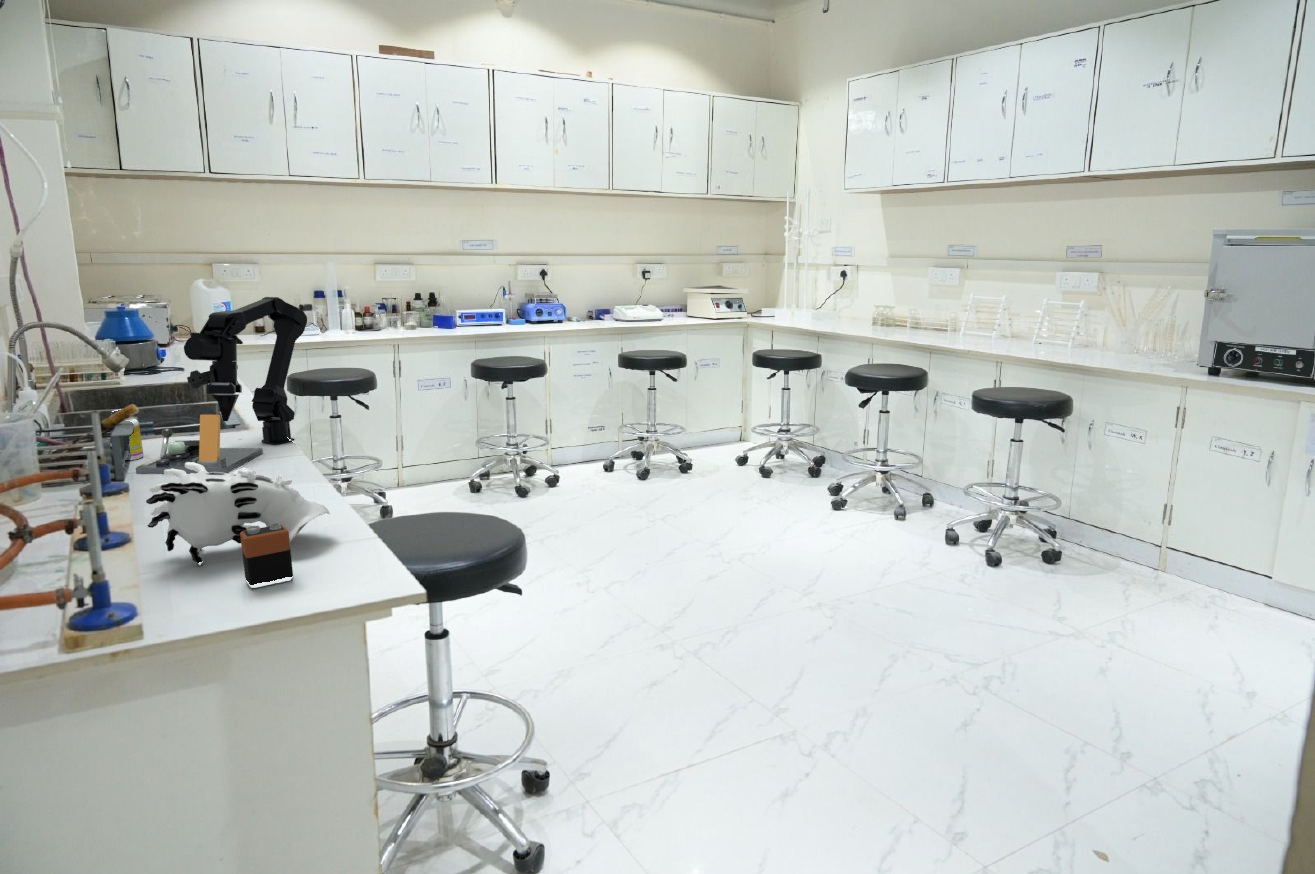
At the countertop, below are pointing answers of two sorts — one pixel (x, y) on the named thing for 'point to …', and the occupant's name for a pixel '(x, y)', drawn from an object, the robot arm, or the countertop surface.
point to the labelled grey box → (190, 442)
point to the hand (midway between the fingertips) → (225, 421)
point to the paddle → (209, 440)
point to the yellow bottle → (135, 440)
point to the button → (176, 447)
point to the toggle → (165, 441)
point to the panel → (226, 463)
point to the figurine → (226, 506)
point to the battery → (266, 553)
